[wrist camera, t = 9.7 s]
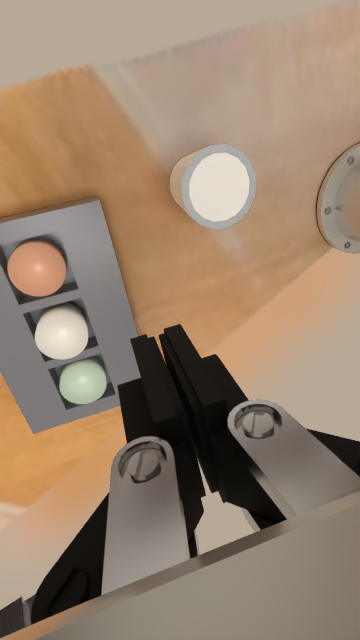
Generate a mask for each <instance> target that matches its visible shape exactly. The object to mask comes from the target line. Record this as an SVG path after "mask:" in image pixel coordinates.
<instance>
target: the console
mask: <svg viewBox="0 0 360 640" xmlns="http://www.w3.org/2000/svg"><path fill="white" fill-rule="evenodd" d="M32 237H43V238H47V239H50V240H52V241H53V242H55V243H56V244H58V245H59V246H60V247H61V249H62V250H63V252H64V254H65V256H66V260H67V268H66V276H65V280H64V282H63V284H62V286H61V287H60V288H59V289H58V290H57V291H56V292H54V293H52V294H50V295H47V296H31V295H28V294H25V293H23V292H22V291H20V290H19V289H18V288H16V287H15V286H14V284H13V283H12V282H11V280H10V278H9V275H8V269H7V267H8V261H9V259H10V257H11V255H12V254H13V252H14V251H15V249H16V248H17V246H18V245H19V244H20V243H21V242H23V241H24V240H26V239H29V238H32ZM60 303H70V304H73V305H75V306H77V307H78V308H80V309H81V310H82V311H83V312H84V314H85V316H86V318H87V323H88V342H87V345H86V347H85V348H84V350H83V351H82V352H81V353H80V354H78V355H77V356H75V357H73V358H70V359H63V360H60V359H54V358H50V357H48V356H46V355H45V354H43V353H42V352H41V351H40V350H39V348H38V347H37V345H36V342H35V332H36V328H37V324H38V320H39V317H40V314H41V313H42V312H43V310H44V309H45V308H47V307H49V306H53V305H57V304H60ZM135 337H138V333H137V329H136V326H135V322H134V319H133V315H132V311H131V308H130V304H129V301H128V297H127V294H126V290H125V287H124V283H123V280H122V276H121V273H120V269H119V266H118V262H117V259H116V255H115V252H114V248H113V245H112V241H111V238H110V234H109V231H108V227H107V224H106V220H105V217H104V213H103V210H102V206H101V203H100V200H99V198H98V196H94V197H89V198H85V199H81V200H76V201H72V202H68V203H63V204H59V205H55V206H51V207H46V208H42V209H38V210H33V211H29V212H25V213H20V214H16V215H12V216H7V217H3V218H0V372H1V374H2V376H3V377H4V379H5V381H6V383H7V385H8V387H9V389H10V391H11V392H12V394H13V396H14V398H15V400H16V402H17V404H18V406H19V407H20V409H21V411H22V413H23V415H24V417H25V419H26V421H27V422H28V424H29V426H30V428H31V430H32V432H33V434H34V433H38V432H41V431H44V430H47V429H50V428H53V427H56V426H59V425H62V424H65V423H68V422H71V421H74V420H77V419H81V418H84V417H87V416H90V415H93V414H96V413H99V412H102V411H105V410H108V409H111V408H114V407H117V406H120V399H119V393H118V387H117V386H118V385H119V384H122V383H125V382H128V381H132V380H135V379H138V378H141V376H140V373H139V369H138V366H137V362H136V358H135V355H134V351H133V348H132V344H131V341H130V339H131V338H135ZM94 355H97V356H98V357H99V358H100V359H101V360H102V361H103V363H104V366H105V374H106V383H107V385H106V389H105V392H104V393H103V395H102V396H101V397H100V398H99V399H97V400H96V401H94V402H91V403H87V404H76V403H72V402H70V401H68V400H67V399H65V398H64V397H63V395H62V394H61V392H60V374H61V366H62V365H64V364H67V363H71V362H74V361H77V360H81V359H84V358H87V357H90V356H94Z"/></svg>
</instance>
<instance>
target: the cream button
mask: <svg viewBox="0 0 360 640" xmlns="http://www.w3.org/2000/svg"><path fill="white" fill-rule="evenodd" d="M35 342H36V345H37V347H38V348H39V350H40V351H41V352H42V353H43V354H45V355H46V356H48V357H50V358H54V359H60V360H63V359H70V358H73V357H75V356H77V355H78V354H80V353H81V352H82V351H83V350H84V348H85V347H86V345H87V342H88V323H87V318H86V316H85V314H84V312H83V311H82V310H81V309H80V308H78V307H77V306H75V305H73V304H70V303H60V304H57V305H53V306H49V307H47V308H45V309H44V310H43V312H42V313H41V314H40V317H39V320H38V324H37V328H36V332H35Z"/></svg>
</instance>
